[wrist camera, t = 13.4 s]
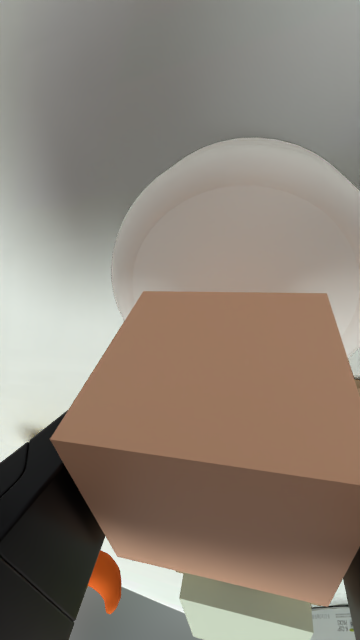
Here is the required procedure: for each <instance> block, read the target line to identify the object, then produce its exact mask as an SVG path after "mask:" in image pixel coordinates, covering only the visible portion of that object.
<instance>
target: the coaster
mask: <svg viewBox="0 0 360 640" xmlns="http://www.w3.org/2000/svg"><path fill="white" fill-rule="evenodd" d="M111 272H112V286H113V292H114V296H115V300H116V303H117V306H118V309H119V311H120V314H121V316H122V318H123V320H124V321H125V320H126V318H127V316H128V315H129V313H130V312H131V310H132V308H133V307H134V305H135V304H136V302H137V300H138V299H139V297H140V296H141V294H142V293H143V291H173V292H261V293H327V295H328V298H329V302H330V305H331V308H332V311H333V314H334V317H335V320H336V323H337V327H338V330H339V333H340V336H341V339H342V342H343V345H344V348H345V352H346V355H347V358H349V357H350V356H351V355H352V354H353V353H354V352H355V351H356V350H357V349H358V348H360V191H359V190H358V189H357V188H356V187H355V186H354V185H353V184H352V183H351V182H350V181H349V180H348V179H347V178H346V177H344V176H343V175H342V174H341V173H340V172H339V171H338V170H337V169H336V168H335V167H334V166H333V165H332V164H330V163H329V162H327V161H326V160H324V159H323V158H322V157H320V156H319V155H317V154H316V153H314V152H312V151H309V150H307V149H305V148H303V147H301V146H299V145H296V144H292V143H288V142H285V141H281V140H277V139H268V138H259V137H254V138H236V139H231V140H226V141H221V142H217V143H214V144H211V145H209V146H206V147H203V148H201V149H199V150H197V151H195V152H193V153H191V154H189V155H187V156H186V157H184V158H183V159H181V160H180V161H179V162H177V163H176V164H175V165H173V166H172V167H171V168H169V169H168V170H166V171H165V172H164V173H162V174H161V175H160V176H158V177H157V178H155V179H154V180H153V181H152V182H151V183H150V184H149V185H148V186H147V187H146V188H145V189H144V190H143V191H142V192H141V194H140V195H139V196H138V198H137V199H136V200H135V202H134V203H133V204H132V206H131V207H130V209H129V211H128V213H127V214H126V216H125V218H124V220H123V222H122V225H121V227H120V229H119V232H118V235H117V239H116V242H115V246H114V250H113V257H112V265H111Z"/></svg>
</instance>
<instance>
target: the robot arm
mask: <svg viewBox="0 0 360 640" xmlns="http://www.w3.org/2000/svg"><path fill="white" fill-rule="evenodd" d="M67 411H68V410H67ZM67 411H66V412H65V413H64V414H62V415H61V416H60V417H59V418H57V419H56V420H55V421H53V422H52V423H51V424H50V425H48V426H47V427H46V428H44V429H43V430H42V431H41V432H39V433H38V434H37V435H36V436H34V437H33V438H32V439H30V441H29V442H27V443H25V444H24V445H23V446H21V447H20V448H19V449H18V450H16V451H15V452H14V453H12V454H11V455H10V456H8V457H7V458H6V459H5V460H3V461H2V462H1V463H0V640H69V637H70V634H71V631H72V629H73V626H74V621H75V620H76V617H77V614H78V611H79V608H80V606H81V603H82V600H83V597H84V594H85V592H86V589H87V586H88V583H89V580H90V577H91V575H92V572H93V569H94V566H95V563H96V561H97V558H98V555H99V552H100V549H101V547H102V544H103V541H104V538H105V534H104V532H103V531H102V529H101V527H100V526H99V524H98V522H97V520H96V519H95V517H94V515H93V513H92V512H91V510H90V508H89V506H88V505H87V503H86V501H85V500H84V498H83V496H82V494H81V493H80V491H79V489H78V487H77V486H76V484H75V482H74V480H73V479H72V477H71V475H70V473H69V472H68V470H67V468H66V467H65V465H64V463H63V461H62V460H61V458H60V456H59V454H58V453H57V451H56V449H55V447H54V446H53V444H52V442H51V441H50V438H51V437H52V435H53V434H54V432H55V430H56V429H57V427H58V426H59V424H60V422H61V421H62V419H63V418H64V416H65V415H66V413H67ZM343 580H344V585H345V590H346V595H347V599H348V604H349V609H350V614H351V619H352V624H353V629H354V634H355V639H356V640H360V547H359V549H358V551H357V553H356V554H355V556H354V558H353V560H352V562H351V564H350V566H349V568H348V570H347V572H346V574H345V575H344V577H343Z"/></svg>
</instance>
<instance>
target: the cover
mask: <svg viewBox="0 0 360 640" xmlns="http://www.w3.org/2000/svg"><path fill="white" fill-rule="evenodd" d="M179 599H180V601H181V604H182V607H183V609H184V612H185V614H186V618H187V620H188V623H189V626H190V629H191V631H192V634H193V636H194V637H197V638H200V639H203V640H310V639H311V637H312V635H313V633H314V631H313V620H312V610H311V603H309V602H305V601H301V600H297V599H293V598H289V597H284V596H280V595H276V594H272V593H268V592H264V591H259V590H255V589H251V588H247V587H243V586H238V585H234V584H230V583H226V582H222V581H218V580H213V579H209V578H205V577H201V576H197V575H192V574H188V573H184V574H183V580H182V586H181V592H180V598H179Z"/></svg>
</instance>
